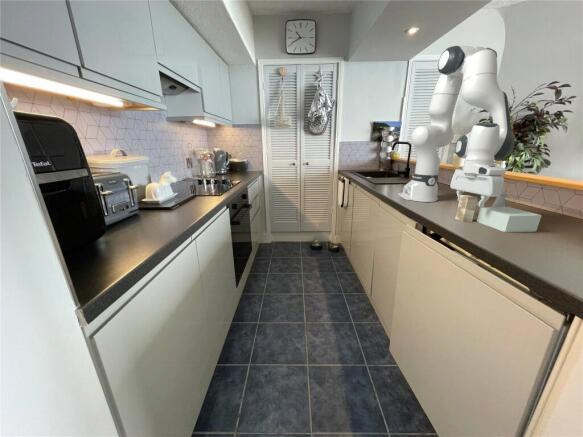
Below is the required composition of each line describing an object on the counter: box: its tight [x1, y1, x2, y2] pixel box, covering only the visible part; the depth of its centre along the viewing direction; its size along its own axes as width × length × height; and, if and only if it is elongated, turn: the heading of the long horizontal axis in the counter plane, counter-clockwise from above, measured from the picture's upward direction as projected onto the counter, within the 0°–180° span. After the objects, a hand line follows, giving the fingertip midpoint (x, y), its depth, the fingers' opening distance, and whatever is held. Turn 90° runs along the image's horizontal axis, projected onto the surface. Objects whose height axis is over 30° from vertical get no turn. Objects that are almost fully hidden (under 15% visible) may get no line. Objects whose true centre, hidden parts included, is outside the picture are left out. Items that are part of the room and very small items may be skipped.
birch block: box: [454, 194, 479, 223], centre depth 94 cm, size 4×4×10 cm
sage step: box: [476, 206, 542, 233], centre depth 88 cm, size 12×12×6 cm
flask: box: [490, 192, 508, 207], centre depth 100 cm, size 7×7×10 cm
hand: (469, 203), depth 93 cm, fingers open, 8 cm apart
